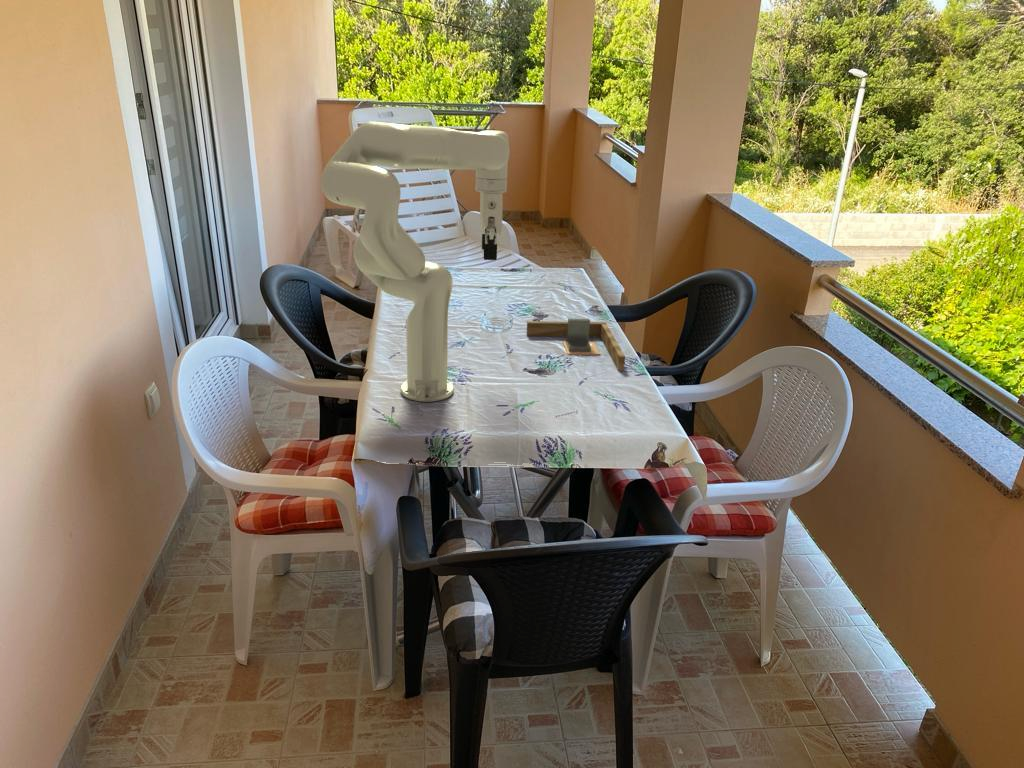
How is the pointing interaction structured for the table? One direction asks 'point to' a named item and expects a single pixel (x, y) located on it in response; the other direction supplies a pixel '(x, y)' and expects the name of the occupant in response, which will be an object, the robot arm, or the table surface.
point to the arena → (594, 331)
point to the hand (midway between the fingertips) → (489, 254)
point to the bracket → (578, 335)
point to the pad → (593, 352)
